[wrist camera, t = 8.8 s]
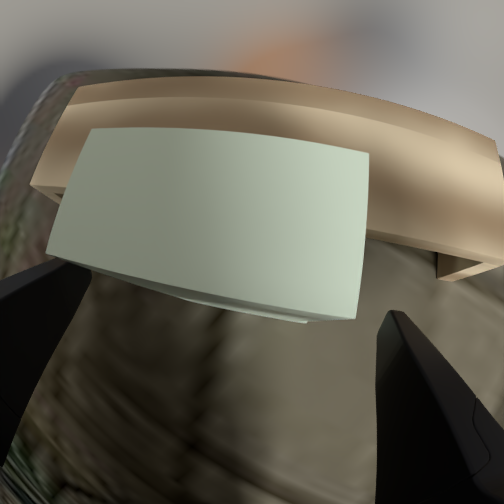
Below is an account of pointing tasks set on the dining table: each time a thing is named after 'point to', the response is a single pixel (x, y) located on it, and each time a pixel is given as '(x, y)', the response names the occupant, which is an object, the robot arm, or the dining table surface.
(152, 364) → the dining table surface
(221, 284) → the sage green flanged block
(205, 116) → the beige u-shaped channel
